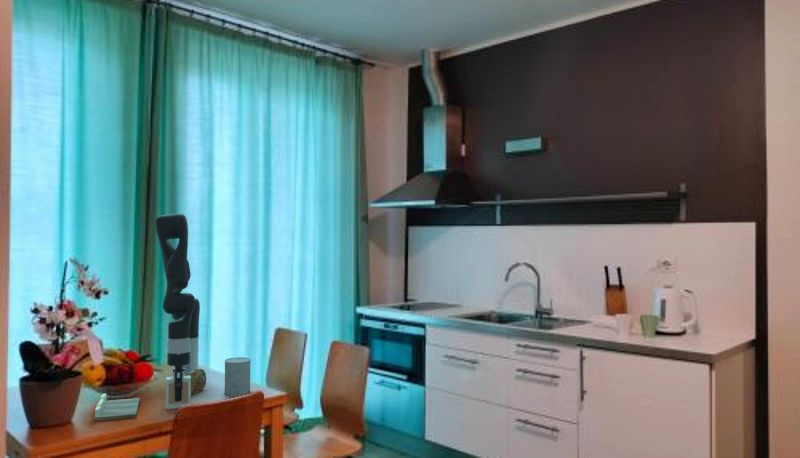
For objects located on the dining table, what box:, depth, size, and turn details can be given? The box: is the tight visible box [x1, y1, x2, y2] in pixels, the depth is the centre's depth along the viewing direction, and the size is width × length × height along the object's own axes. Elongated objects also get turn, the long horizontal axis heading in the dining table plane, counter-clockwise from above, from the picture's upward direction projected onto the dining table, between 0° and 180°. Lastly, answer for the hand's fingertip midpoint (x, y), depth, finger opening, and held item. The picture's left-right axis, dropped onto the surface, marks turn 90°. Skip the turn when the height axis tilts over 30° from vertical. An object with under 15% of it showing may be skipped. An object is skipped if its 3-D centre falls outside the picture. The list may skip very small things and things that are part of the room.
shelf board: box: [94, 397, 141, 422], centre depth 201 cm, size 20×12×1 cm, turn 20°
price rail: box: [94, 393, 107, 419], centre depth 199 cm, size 20×1×3 cm, turn 20°
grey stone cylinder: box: [224, 356, 252, 397], centre depth 225 cm, size 10×10×12 cm
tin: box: [184, 368, 207, 397], centre depth 223 cm, size 15×3×8 cm, turn 168°
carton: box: [165, 376, 192, 410], centre depth 206 cm, size 4×8×10 cm, turn 110°
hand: (178, 398), depth 207 cm, fingers open, 7 cm apart
